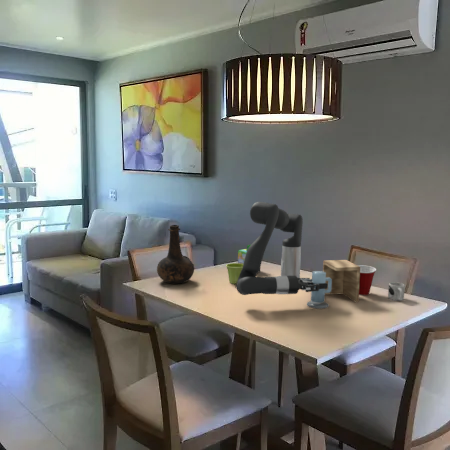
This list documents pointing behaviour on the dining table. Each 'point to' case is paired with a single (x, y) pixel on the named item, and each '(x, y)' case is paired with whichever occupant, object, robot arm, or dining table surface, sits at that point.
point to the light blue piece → (320, 295)
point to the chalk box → (242, 255)
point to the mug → (396, 291)
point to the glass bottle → (175, 261)
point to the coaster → (317, 305)
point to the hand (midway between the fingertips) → (324, 284)
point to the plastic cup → (366, 279)
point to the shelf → (343, 278)
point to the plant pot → (234, 272)
